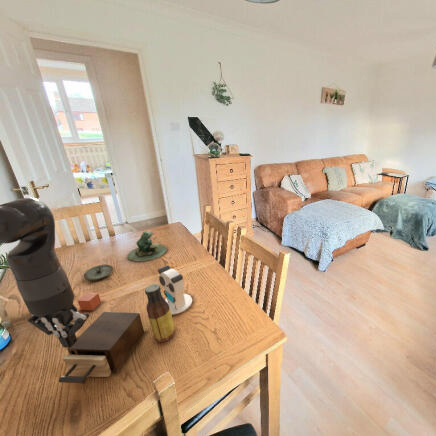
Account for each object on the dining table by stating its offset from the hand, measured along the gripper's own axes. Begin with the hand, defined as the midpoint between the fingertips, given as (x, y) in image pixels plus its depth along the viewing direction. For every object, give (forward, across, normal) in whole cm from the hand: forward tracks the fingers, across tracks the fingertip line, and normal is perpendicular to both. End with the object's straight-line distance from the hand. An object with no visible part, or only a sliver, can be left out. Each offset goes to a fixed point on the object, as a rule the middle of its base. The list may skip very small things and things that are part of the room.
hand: (70, 344), depth 59 cm
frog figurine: (+15, -22, +68) cm, 73 cm away
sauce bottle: (+15, +13, +16) cm, 25 cm away
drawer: (+14, 0, +5) cm, 15 cm away
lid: (+15, -32, +47) cm, 59 cm away
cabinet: (+14, 0, +10) cm, 18 cm away
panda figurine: (+15, +10, +31) cm, 36 cm away
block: (+14, -21, +28) cm, 38 cm away
